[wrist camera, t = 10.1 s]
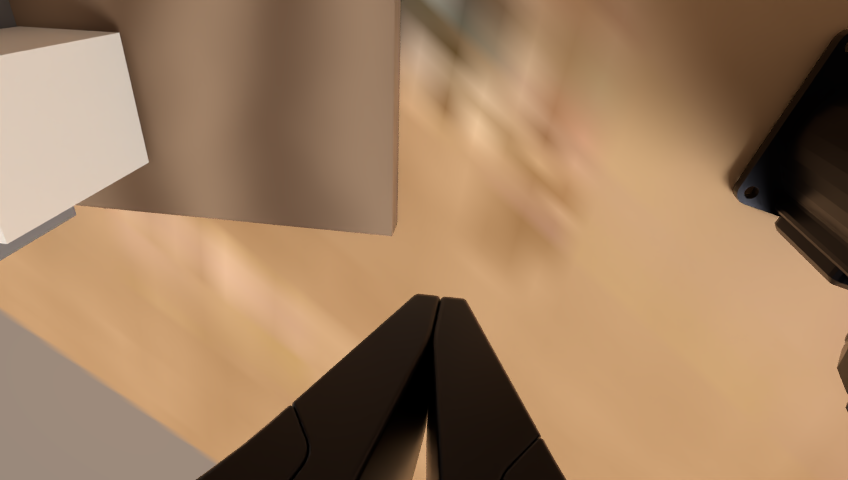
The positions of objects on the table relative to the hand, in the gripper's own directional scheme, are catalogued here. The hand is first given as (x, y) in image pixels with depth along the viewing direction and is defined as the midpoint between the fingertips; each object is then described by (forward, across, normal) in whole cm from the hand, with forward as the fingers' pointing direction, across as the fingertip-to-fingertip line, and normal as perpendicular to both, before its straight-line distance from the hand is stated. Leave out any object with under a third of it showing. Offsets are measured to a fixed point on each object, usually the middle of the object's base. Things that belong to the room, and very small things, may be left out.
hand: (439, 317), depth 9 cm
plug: (+11, +16, 0) cm, 20 cm away
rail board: (+13, +13, 0) cm, 19 cm away
